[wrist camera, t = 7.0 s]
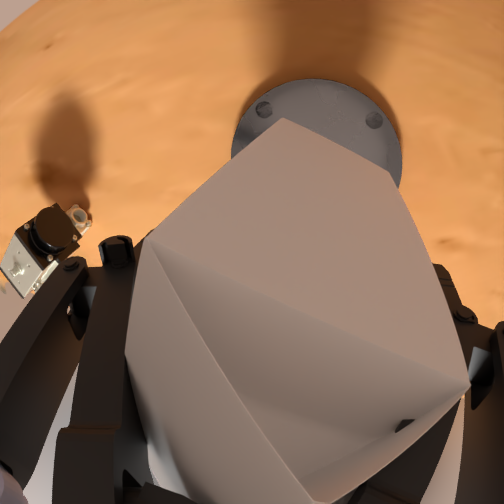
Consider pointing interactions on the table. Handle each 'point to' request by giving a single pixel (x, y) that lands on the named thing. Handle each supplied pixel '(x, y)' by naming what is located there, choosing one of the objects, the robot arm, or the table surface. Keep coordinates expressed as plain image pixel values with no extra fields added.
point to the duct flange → (326, 120)
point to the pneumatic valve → (43, 246)
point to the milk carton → (288, 328)
